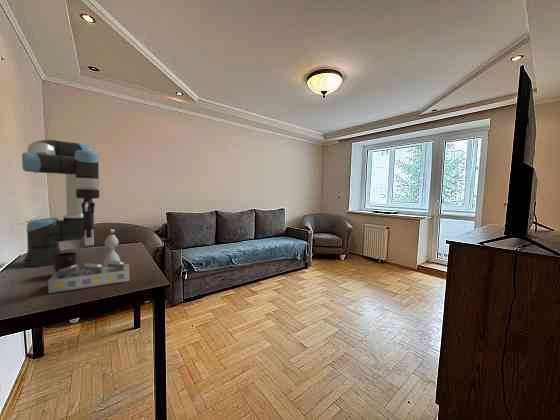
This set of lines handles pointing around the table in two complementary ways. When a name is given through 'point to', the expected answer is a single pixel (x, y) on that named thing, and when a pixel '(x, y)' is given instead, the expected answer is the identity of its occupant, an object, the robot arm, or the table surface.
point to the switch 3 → (115, 264)
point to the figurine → (111, 249)
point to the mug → (64, 260)
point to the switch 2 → (92, 267)
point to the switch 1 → (67, 270)
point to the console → (88, 278)
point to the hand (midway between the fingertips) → (89, 244)
